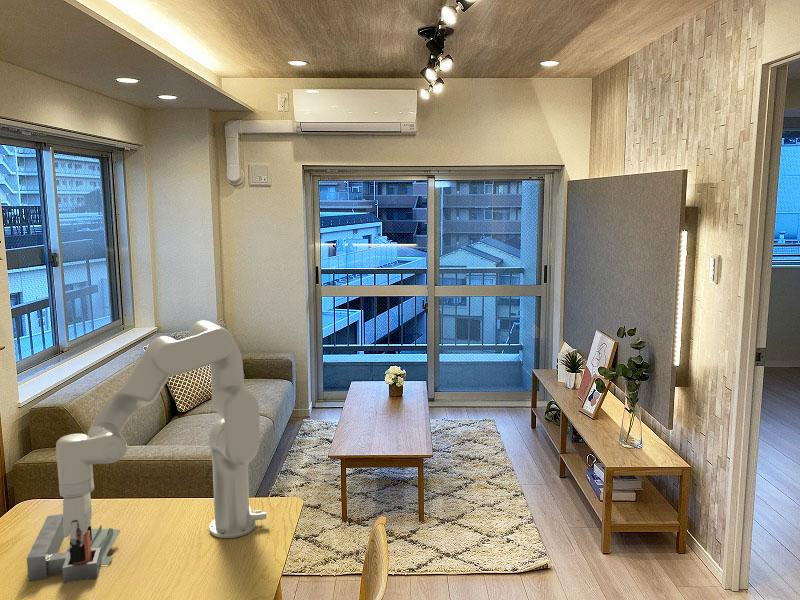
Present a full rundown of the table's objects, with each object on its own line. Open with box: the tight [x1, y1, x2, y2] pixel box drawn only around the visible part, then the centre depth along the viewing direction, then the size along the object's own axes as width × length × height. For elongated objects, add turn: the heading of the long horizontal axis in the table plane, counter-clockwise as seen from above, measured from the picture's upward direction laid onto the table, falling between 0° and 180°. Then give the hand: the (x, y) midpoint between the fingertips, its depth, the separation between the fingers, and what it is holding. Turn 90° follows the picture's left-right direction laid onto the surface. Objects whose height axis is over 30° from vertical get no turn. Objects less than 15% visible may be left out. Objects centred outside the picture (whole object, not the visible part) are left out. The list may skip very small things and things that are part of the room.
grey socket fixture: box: [26, 513, 102, 584], centre depth 168 cm, size 16×25×6 cm, turn 17°
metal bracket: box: [65, 524, 121, 566], centre depth 170 cm, size 14×6×15 cm
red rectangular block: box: [73, 530, 92, 564], centre depth 160 cm, size 4×4×10 cm
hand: (81, 551), depth 160 cm, fingers open, 8 cm apart
